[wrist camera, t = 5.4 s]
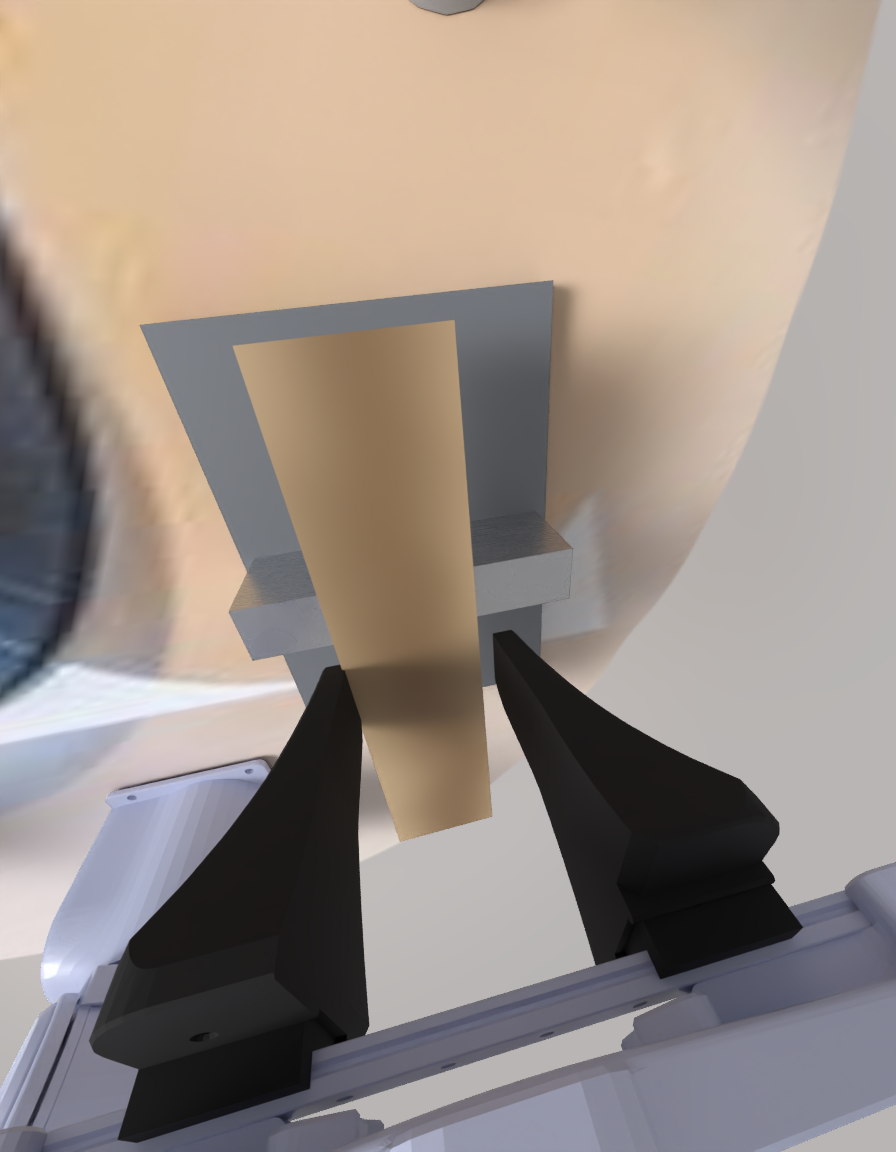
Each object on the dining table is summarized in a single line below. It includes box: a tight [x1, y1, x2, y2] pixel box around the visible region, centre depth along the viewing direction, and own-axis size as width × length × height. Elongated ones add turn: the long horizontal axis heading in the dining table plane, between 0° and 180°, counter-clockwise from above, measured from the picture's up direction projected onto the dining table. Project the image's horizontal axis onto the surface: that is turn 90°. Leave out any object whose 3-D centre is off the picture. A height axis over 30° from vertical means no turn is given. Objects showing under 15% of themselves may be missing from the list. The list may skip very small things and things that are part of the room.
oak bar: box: [233, 320, 492, 842], centre depth 14 cm, size 4×18×4 cm, turn 6°
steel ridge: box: [229, 511, 573, 661], centre depth 17 cm, size 13×2×4 cm, turn 96°
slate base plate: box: [140, 280, 553, 707], centre depth 19 cm, size 14×20×1 cm
